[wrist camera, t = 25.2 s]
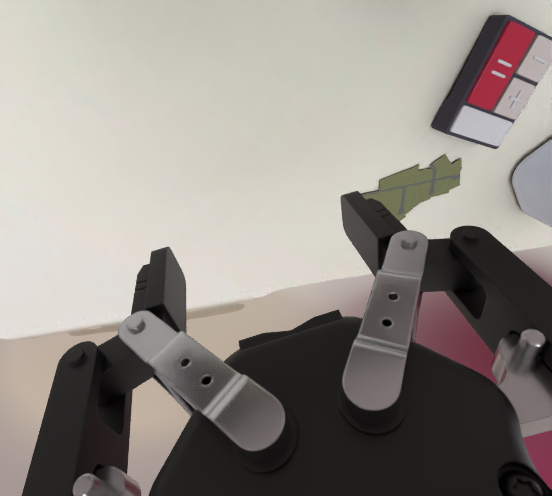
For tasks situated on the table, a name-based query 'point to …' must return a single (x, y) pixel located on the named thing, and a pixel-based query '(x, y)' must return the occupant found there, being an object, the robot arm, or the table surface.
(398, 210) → the map
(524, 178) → the plastic bottle
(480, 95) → the calculator
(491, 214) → the table surface
